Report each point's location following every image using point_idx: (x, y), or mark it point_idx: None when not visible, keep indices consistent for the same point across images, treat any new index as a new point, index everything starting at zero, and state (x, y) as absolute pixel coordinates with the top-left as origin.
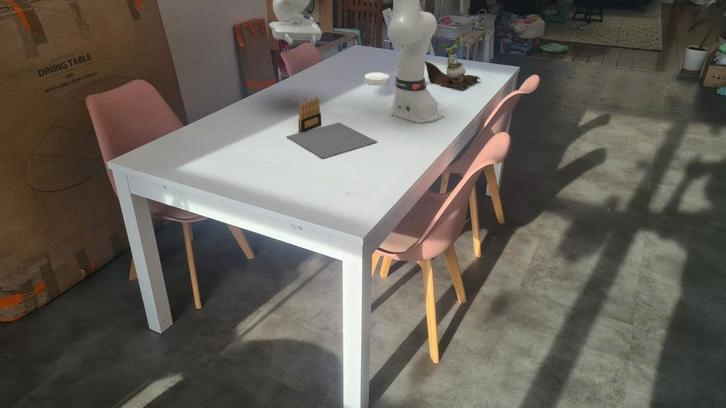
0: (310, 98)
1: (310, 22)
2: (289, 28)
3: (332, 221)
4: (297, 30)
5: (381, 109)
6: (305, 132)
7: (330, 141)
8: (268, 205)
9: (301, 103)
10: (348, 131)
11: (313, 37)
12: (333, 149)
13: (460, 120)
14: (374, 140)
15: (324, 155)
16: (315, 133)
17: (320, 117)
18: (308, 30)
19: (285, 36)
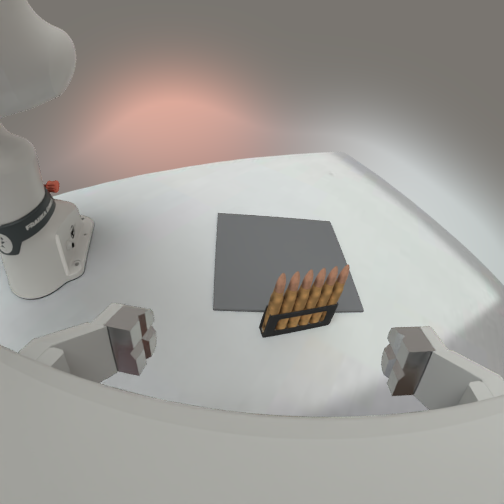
0: (311, 270)
1: None
2: (496, 493)
3: (358, 165)
4: (304, 466)
5: (62, 309)
6: None
7: (291, 250)
8: (405, 198)
9: (344, 267)
10: (231, 261)
11: (76, 335)
12: (301, 229)
13: None
14: (218, 217)
15: (324, 224)
16: None
17: (265, 313)
18: (15, 407)
19: (489, 382)
